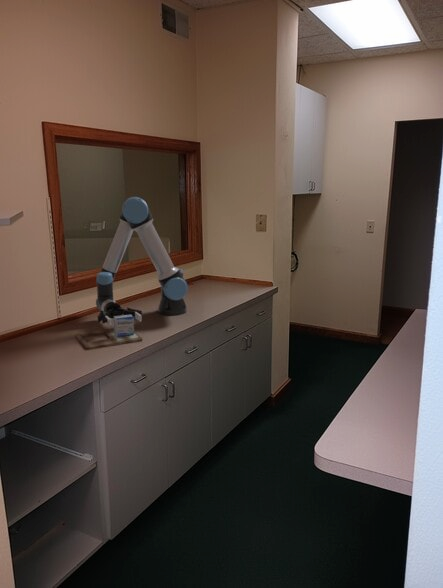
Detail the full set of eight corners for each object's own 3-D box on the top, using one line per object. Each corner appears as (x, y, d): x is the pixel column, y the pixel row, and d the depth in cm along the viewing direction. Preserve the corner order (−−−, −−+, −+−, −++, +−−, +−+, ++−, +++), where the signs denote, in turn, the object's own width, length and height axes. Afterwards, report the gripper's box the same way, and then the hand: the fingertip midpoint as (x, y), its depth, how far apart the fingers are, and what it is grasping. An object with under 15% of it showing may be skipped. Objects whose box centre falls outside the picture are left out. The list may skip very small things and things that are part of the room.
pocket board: (127, 328, 221) (127, 326, 221) (142, 340, 204) (142, 338, 204) (75, 335, 209) (75, 333, 209) (86, 349, 193) (86, 347, 192)
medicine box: (116, 337, 204) (116, 318, 202) (114, 334, 208) (113, 315, 206) (134, 335, 208) (133, 316, 206) (131, 332, 212) (130, 313, 210)
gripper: (137, 313, 228) (153, 324, 210) (85, 320, 216) (97, 332, 198) (136, 298, 227) (152, 308, 209) (84, 304, 215) (96, 315, 197)
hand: (125, 320), depth 203 cm, fingers open, 13 cm apart
